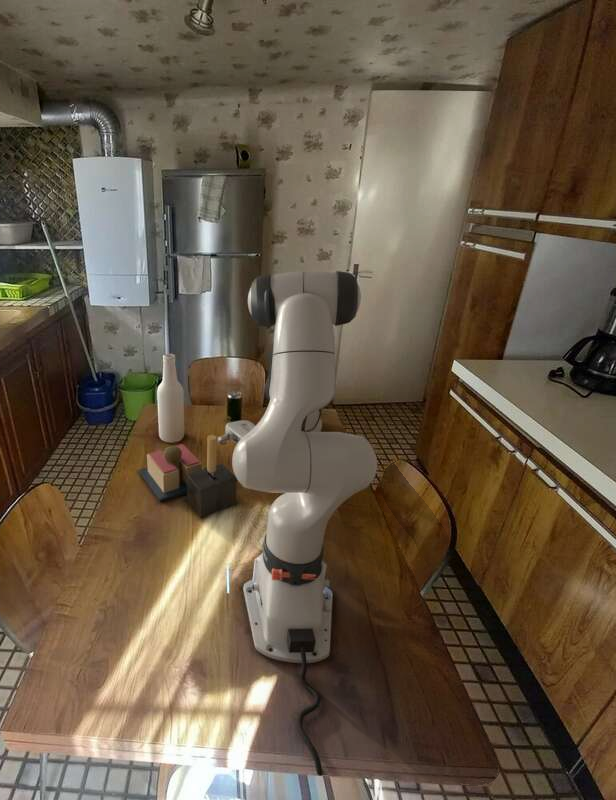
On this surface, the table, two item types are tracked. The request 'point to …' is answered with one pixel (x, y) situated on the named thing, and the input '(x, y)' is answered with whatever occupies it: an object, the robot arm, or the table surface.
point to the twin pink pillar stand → (169, 473)
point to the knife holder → (211, 490)
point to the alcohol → (170, 403)
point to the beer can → (234, 406)
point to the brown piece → (174, 458)
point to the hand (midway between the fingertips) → (228, 449)
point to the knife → (211, 455)
